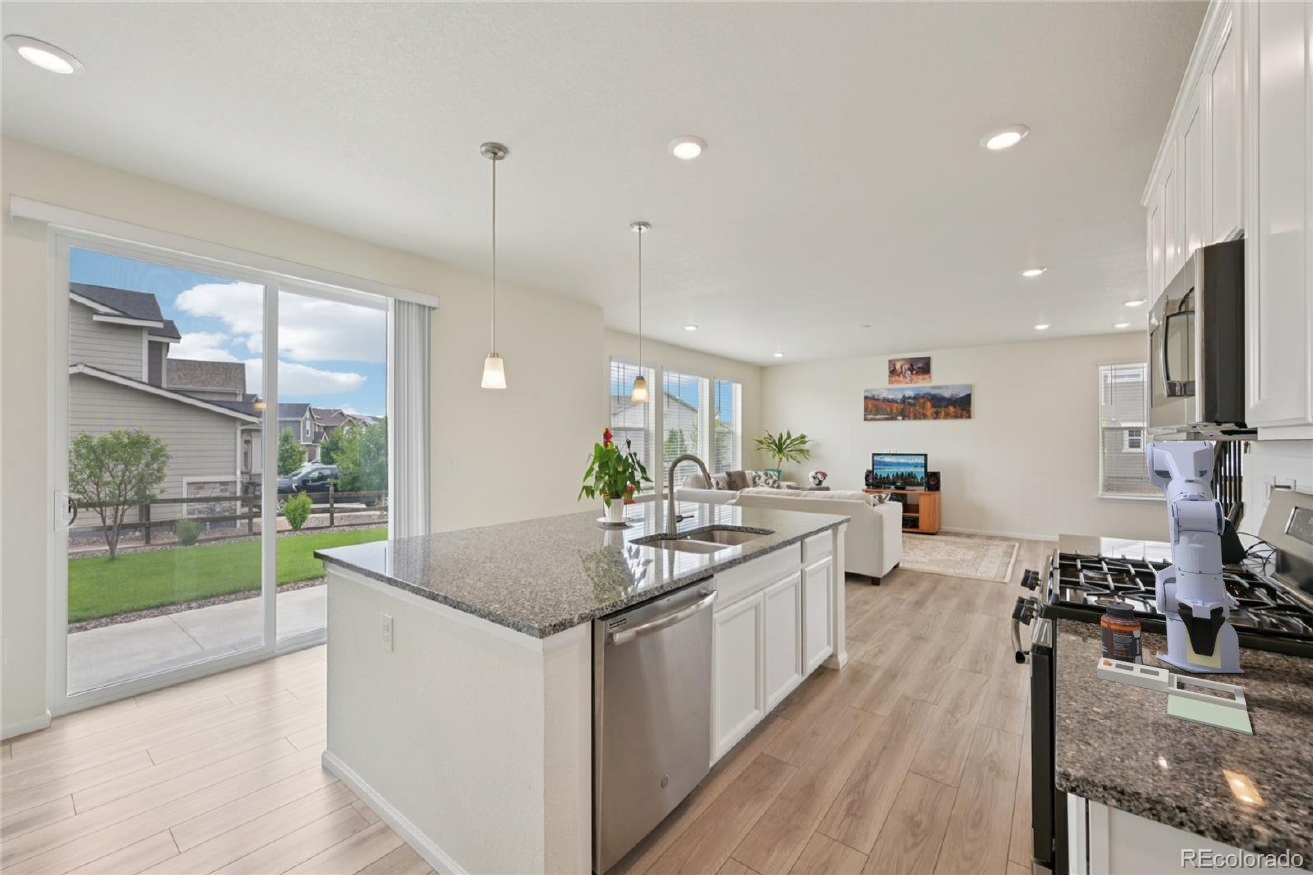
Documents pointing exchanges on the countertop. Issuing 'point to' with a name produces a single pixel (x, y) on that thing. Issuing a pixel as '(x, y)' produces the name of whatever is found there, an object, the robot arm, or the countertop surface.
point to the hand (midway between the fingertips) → (1202, 651)
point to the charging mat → (1209, 714)
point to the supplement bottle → (1121, 634)
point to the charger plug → (1202, 659)
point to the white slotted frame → (1166, 682)
